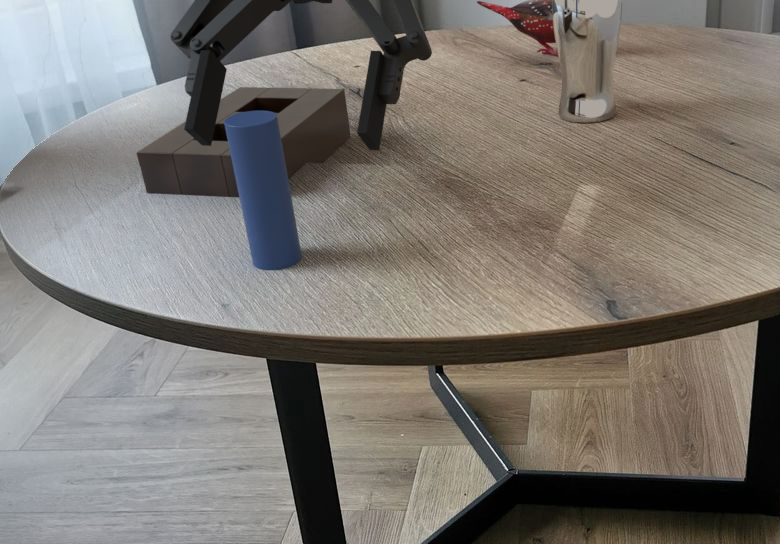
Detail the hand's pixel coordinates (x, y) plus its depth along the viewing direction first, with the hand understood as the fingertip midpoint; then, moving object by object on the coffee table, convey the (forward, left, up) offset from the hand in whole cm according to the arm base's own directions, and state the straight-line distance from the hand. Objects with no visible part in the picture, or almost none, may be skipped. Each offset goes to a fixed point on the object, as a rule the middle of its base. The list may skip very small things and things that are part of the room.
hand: (281, 140), depth 70 cm
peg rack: (-12, +17, -9) cm, 23 cm away
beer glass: (+17, +36, -9) cm, 41 cm away
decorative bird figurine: (+7, +60, -9) cm, 61 cm away
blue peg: (0, -4, -9) cm, 10 cm away
